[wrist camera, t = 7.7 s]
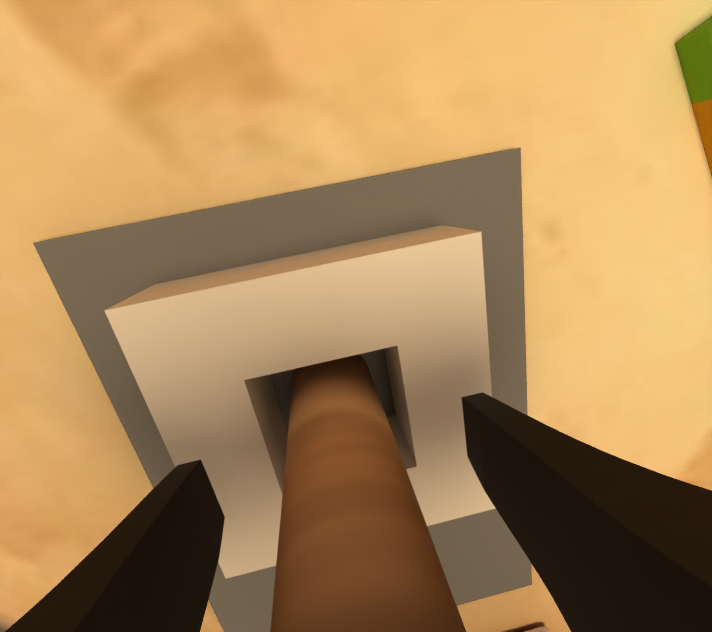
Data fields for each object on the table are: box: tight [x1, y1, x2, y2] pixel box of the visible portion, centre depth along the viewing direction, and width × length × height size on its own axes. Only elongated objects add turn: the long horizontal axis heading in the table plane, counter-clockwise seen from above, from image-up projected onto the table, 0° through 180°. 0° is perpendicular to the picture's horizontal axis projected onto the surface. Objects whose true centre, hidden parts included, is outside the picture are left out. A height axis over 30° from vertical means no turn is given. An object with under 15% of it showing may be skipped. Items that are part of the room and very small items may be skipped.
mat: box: [33, 148, 532, 632], centre depth 15 cm, size 22×16×1 cm
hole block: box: [104, 225, 495, 579], centre depth 12 cm, size 10×10×3 cm
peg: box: [270, 354, 466, 632], centre depth 9 cm, size 3×3×9 cm
